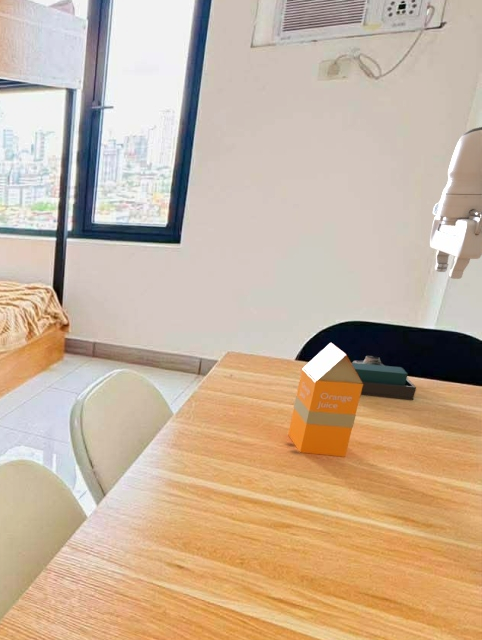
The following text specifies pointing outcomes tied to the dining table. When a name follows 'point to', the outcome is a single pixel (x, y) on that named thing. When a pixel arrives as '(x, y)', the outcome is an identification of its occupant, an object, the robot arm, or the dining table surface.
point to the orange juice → (326, 404)
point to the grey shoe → (370, 361)
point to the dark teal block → (381, 374)
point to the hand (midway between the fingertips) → (447, 274)
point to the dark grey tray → (389, 390)
